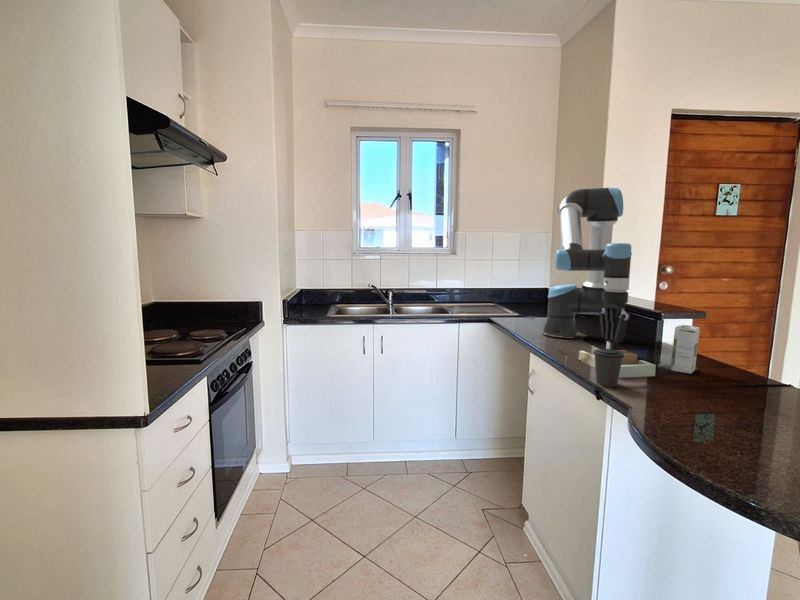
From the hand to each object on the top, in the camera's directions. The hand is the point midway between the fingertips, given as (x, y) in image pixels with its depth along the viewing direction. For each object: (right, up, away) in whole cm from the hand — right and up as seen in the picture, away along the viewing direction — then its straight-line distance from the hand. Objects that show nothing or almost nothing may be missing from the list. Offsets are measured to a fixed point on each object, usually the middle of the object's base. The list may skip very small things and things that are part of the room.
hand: (610, 360), depth 133 cm
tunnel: (0, -2, +3) cm, 3 cm away
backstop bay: (+1, -3, -9) cm, 9 cm away
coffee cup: (-10, -4, -17) cm, 21 cm away
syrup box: (+21, -3, -5) cm, 22 cm away
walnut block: (+1, -3, -5) cm, 5 cm away
